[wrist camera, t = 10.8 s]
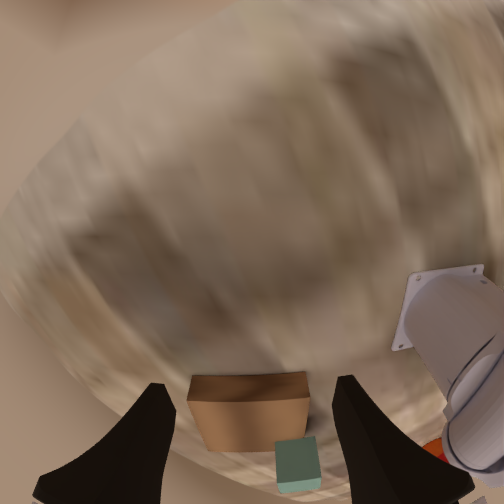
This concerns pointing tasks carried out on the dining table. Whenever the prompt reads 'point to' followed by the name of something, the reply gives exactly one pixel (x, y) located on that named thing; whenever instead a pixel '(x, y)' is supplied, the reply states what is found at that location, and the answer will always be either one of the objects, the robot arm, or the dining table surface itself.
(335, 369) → the dining table surface
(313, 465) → the teal block
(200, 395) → the walnut plinth
